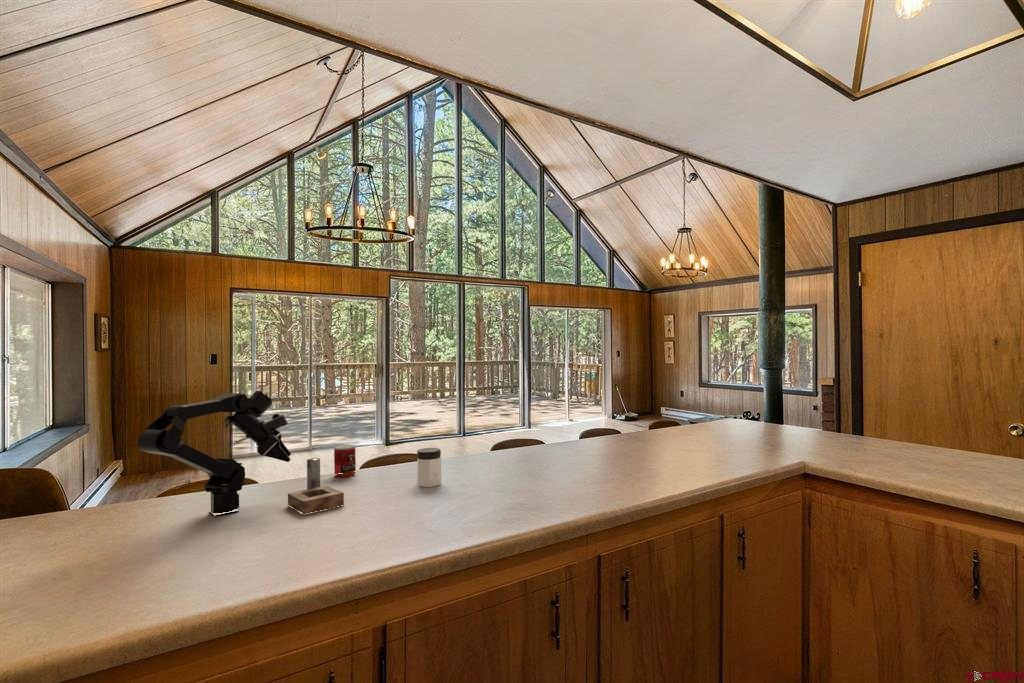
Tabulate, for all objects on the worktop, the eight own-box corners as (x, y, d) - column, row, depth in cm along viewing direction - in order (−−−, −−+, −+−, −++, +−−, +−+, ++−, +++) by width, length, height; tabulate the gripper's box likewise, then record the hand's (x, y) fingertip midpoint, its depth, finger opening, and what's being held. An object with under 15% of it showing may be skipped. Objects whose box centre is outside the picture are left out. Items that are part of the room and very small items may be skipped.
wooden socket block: (303, 515, 142) (303, 501, 142) (288, 506, 151) (287, 493, 151) (343, 505, 150) (343, 492, 151) (326, 498, 159) (326, 485, 159)
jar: (425, 489, 168) (424, 453, 168) (412, 484, 173) (411, 450, 174) (446, 483, 174) (446, 449, 174) (433, 479, 180) (432, 446, 180)
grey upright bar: (310, 499, 158) (309, 461, 159) (305, 496, 161) (304, 459, 161) (322, 496, 161) (322, 459, 161) (317, 494, 164) (316, 457, 164)
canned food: (342, 479, 183) (342, 449, 184) (330, 476, 188) (329, 446, 188) (360, 474, 189) (359, 445, 190) (347, 472, 194) (347, 443, 194)
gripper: (269, 409, 149) (309, 443, 153) (272, 404, 166) (308, 434, 170) (239, 438, 145) (281, 471, 149) (246, 429, 163) (283, 460, 167)
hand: (289, 458), depth 159 cm, fingers open, 9 cm apart
